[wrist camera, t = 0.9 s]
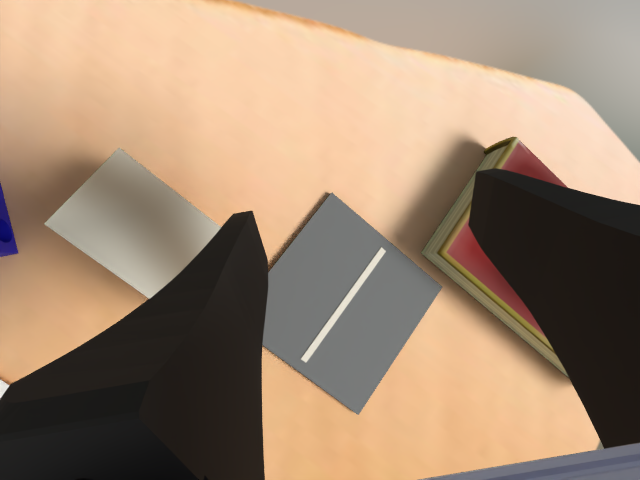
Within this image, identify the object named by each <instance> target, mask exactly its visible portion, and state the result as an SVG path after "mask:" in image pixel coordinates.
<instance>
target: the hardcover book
mask: <svg viewBox="0 0 640 480" xmlns="http://www.w3.org/2000/svg"><path fill="white" fill-rule="evenodd" d="M484 153H485V154H486V157H485V158H484V160H483V161H482V163H481V164H480V166H479V167H478V169H477V170H476V171H482V170H487V169H493V168H498V169H503V170H508V171H512V172H515V173H519V174H523V175H526V176H530V177H533V178H536V179H540V180H543V181H546V182H550V183H553V184H556V185H560V186H563V187H567V186H566V185H565V184H564V183H563V182H562V181H561V180H560V179H559V178H558V177H556V176H555V175H554V174H553V173H552V172H551V171H550V170H549V169H548V168H547V167H546V166H545V165H544V164H543V163H542V162H541V161H540V160H539V159H538V158H537V157H536V156H535V155H534V154H533V153H532V152H531V151H530V150H529V149H528V148H527V147H526V146H525V145H524V144H523V143H522V142H521V141H520V140H519V139H518V138H517V137H511V138H508V139H505V140H502V141H500V142H498V143H496V144H494V145H492V146H490V147H488V148H486V149H485V151H484ZM475 175H476V172H475V173H474V175H473V176H472V178H471V179H470V181H469V182H468V184H467V185H466V187H465V188H464V190H463V191H462V192H461V194H460V195H459V197H458V198H457V200H456V201H455V203H454V204H453V206H452V207H451V209H450V210H449V212H448V213H447V215H446V216H445V218H444V219H443V221H442V222H441V224H440V225H439V227H438V228H437V230H436V231H435V233H434V234H433V236H432V237H431V239H430V240H429V242H428V243H427V245H426V246H425V248H424V249H423V251H422V252H421V254H423V255H424V256H425V257H426V258H427V259H429V260H430V261H431V262H432V263H433V264H435V265H436V266H437V267H438V268H439V269H440V270H442V271H443V272H444V273H445V274H446V275H448V276H449V277H450V278H451V279H452V280H453V281H455V282H456V283H457V284H458V285H459V286H461V287H462V288H463V289H464V290H465V291H467V292H468V293H469V294H470V295H471V296H472V297H474V298H475V299H476V300H477V301H478V302H480V303H481V304H482V305H483V306H484V307H485V308H487V309H488V310H489V311H490V312H491V313H493V314H494V315H495V316H496V317H497V318H498V319H500V320H501V321H502V322H503V323H504V324H506V325H507V326H508V327H509V328H510V329H512V330H513V331H514V332H515V333H516V334H517V335H519V336H520V337H521V338H522V339H523V340H525V341H526V342H527V343H528V344H529V345H530V346H532V347H533V348H534V349H535V350H536V351H538V352H539V353H540V354H541V355H542V356H544V357H545V358H546V359H547V360H548V361H549V362H551V363H552V364H553V365H554V366H555V367H557V368H558V369H559V370H560V371H561V372H562V373H564V374H565V375H566V376H567V377H568V375H567V373H566V371H565V369H564V367H563V366H562V364H561V362H560V360H559V359H558V357H557V355H556V354H555V352H554V350H553V348H552V347H551V345H550V343H549V341H548V340H547V338H546V336H545V335H544V333H543V332H542V330H541V328H540V327H539V325H538V324H537V322H536V320H535V319H534V317H533V316H532V314H531V312H530V311H529V310H528V308H527V307H526V305H525V304H524V303H523V301H522V300H521V299H520V297H519V296H518V295H517V294H516V292H515V291H514V290H513V289H512V287H511V286H510V285H509V284H508V282H507V281H506V280H505V279H504V277H503V276H502V275H501V274H500V272H499V271H498V270H497V268H496V267H495V266H494V265H493V263H492V262H491V261H490V260H489V258H488V257H487V256H486V254H485V253H484V252H483V250H482V249H481V247H480V246H479V244H478V242H477V241H476V239H475V237H474V235H473V233H472V231H471V229H470V227H469V226H468V223H469V216H470V209H471V202H472V196H473V189H474V182H475ZM567 188H568V187H567ZM568 378H569V377H568Z"/></svg>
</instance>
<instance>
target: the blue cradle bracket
mask: <svg viewBox="0 0 640 480" xmlns="http://www.w3.org/2000/svg"><path fill="white" fill-rule="evenodd" d="M17 253H18V250H17V246H16V242H15V238H14V234H13V230H12V226H11V222H10V218H9V215H8V211H7V207H6V203H5V199H4V195H3V191H2V187H1V183H0V257H3V256H8V255H12V254H17Z"/></svg>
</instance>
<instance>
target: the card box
mask: <svg viewBox="0 0 640 480" xmlns="http://www.w3.org/2000/svg"><path fill="white" fill-rule="evenodd" d="M44 224H45V225H46V226H47V227H49V228H50V229H52V230H53V231H55V232H56V233H57V234H59V235H60V236H62V237H63V238H64V239H66V240H67V241H69V242H70V243H71V244H73V245H74V246H76V247H77V248H78V249H80V250H81V251H83V252H84V253H86V254H87V255H88V256H90V257H91V258H93V259H94V260H95V261H97V262H98V263H100V264H101V265H102V266H104V267H105V268H107V269H108V270H110V271H111V272H112V273H114V274H115V275H117V276H118V277H119V278H121V279H122V280H124V281H125V282H126V283H128V284H129V285H131V286H132V287H133V288H135V289H136V290H138V291H139V292H141V293H142V294H143V295H145V296H146V297H148V298H149V299H150V298H151V297H152V296H154V295H155V294H156V293H157V292H158V291H160V290H161V289H162V288H163V287H164V286H166V285H167V284H168V283H169V282H170V281H171V280H172V279H174V278H175V277H176V276H177V275H178V274H179V273H180V272H181V271H182V270H183V269H184V268H185V267H186V266H187V265H188V264H189V263H190V262H191V261H192V260H193V259H194V258H195V257H196V256H197V255H198V254H199V252H200V251H201V250H202V249H203V248H204V247H205V246H206V245H207V244H208V242H209V241H210V240H211V239H212V238H213V237H214V236H215V234H216V233H217V232H218V231H219V230H220V229H221V227H220V226H219V225H218V224H216V223H215V222H214V221H213V220H211V219H210V218H209V217H208V216H206V215H205V214H204V213H202V212H201V211H200V210H199V209H197V208H196V207H195V206H193V205H192V204H191V203H190V202H188V201H187V200H186V199H184V198H183V197H182V196H181V195H179V194H178V193H177V192H175V191H174V190H173V189H172V188H170V187H169V186H168V185H166V184H165V183H164V182H163V181H161V180H160V179H159V178H158V177H156V176H155V175H154V174H152V173H151V172H150V171H149V170H147V169H146V168H145V167H143V166H142V165H141V164H140V163H138V162H137V161H136V160H134V159H133V158H132V157H131V156H129V155H128V154H127V153H125V152H124V151H123V150H122V149H120V148H118V149H117V150H116V151H115V152H114V153H113V154H112V155H111V156H110V157H109V158H108V159H107V160H106V161H105V162H104V163H103V164H102V165H101V166H100V167H99V168H98V169H97V171H96V172H95V173H94V174H93V175H92V176H91V177H90V178H89V179H88V180H87V181H86V182H85V183H84V184H83V185H82V186H81V187H80V188H79V189H78V190H77V191H76V192H75V193H74V194H73V195H72V196H71V197H70V198H69V199H68V200H67V201H66V202H65V203H64V204H63V205H62V206H61V207H60V208H59V209H58V210H57V211H56V212H55V213H54V214H53V215H52V216H51V217H50V218H49V219H48V220H47V221H46V222H45V223H44Z"/></svg>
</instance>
